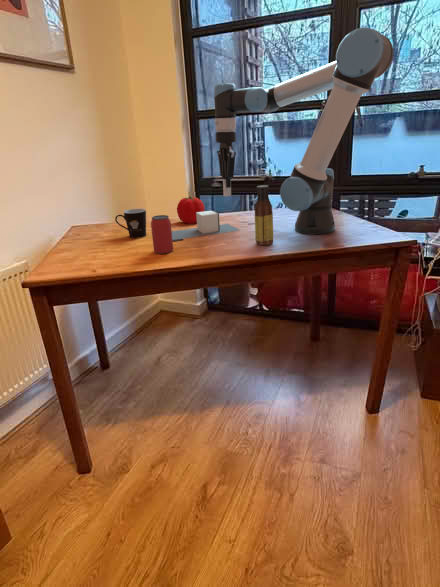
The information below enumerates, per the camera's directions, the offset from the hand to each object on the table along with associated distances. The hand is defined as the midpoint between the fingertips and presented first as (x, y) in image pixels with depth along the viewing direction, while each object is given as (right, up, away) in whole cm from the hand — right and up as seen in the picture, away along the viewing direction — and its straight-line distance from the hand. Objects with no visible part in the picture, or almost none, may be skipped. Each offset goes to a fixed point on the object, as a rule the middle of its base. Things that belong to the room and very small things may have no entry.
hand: (227, 195), depth 151 cm
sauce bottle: (+13, -21, -16) cm, 30 cm away
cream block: (-4, -10, +2) cm, 11 cm away
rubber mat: (-10, -14, +1) cm, 18 cm away
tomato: (-15, -8, +18) cm, 25 cm away
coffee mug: (-37, -16, +2) cm, 40 cm away
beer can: (-22, -24, -20) cm, 38 cm away
